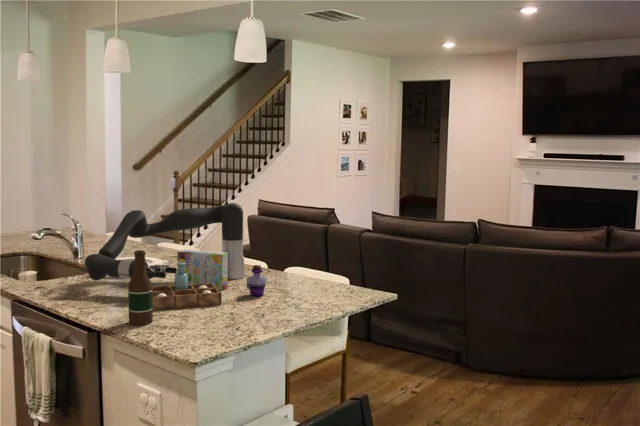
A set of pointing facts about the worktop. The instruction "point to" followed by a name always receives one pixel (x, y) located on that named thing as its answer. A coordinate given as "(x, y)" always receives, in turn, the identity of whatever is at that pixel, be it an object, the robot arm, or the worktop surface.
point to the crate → (185, 296)
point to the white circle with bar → (147, 259)
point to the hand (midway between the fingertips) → (170, 272)
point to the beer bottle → (140, 293)
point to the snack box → (205, 267)
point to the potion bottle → (256, 282)
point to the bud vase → (181, 277)
